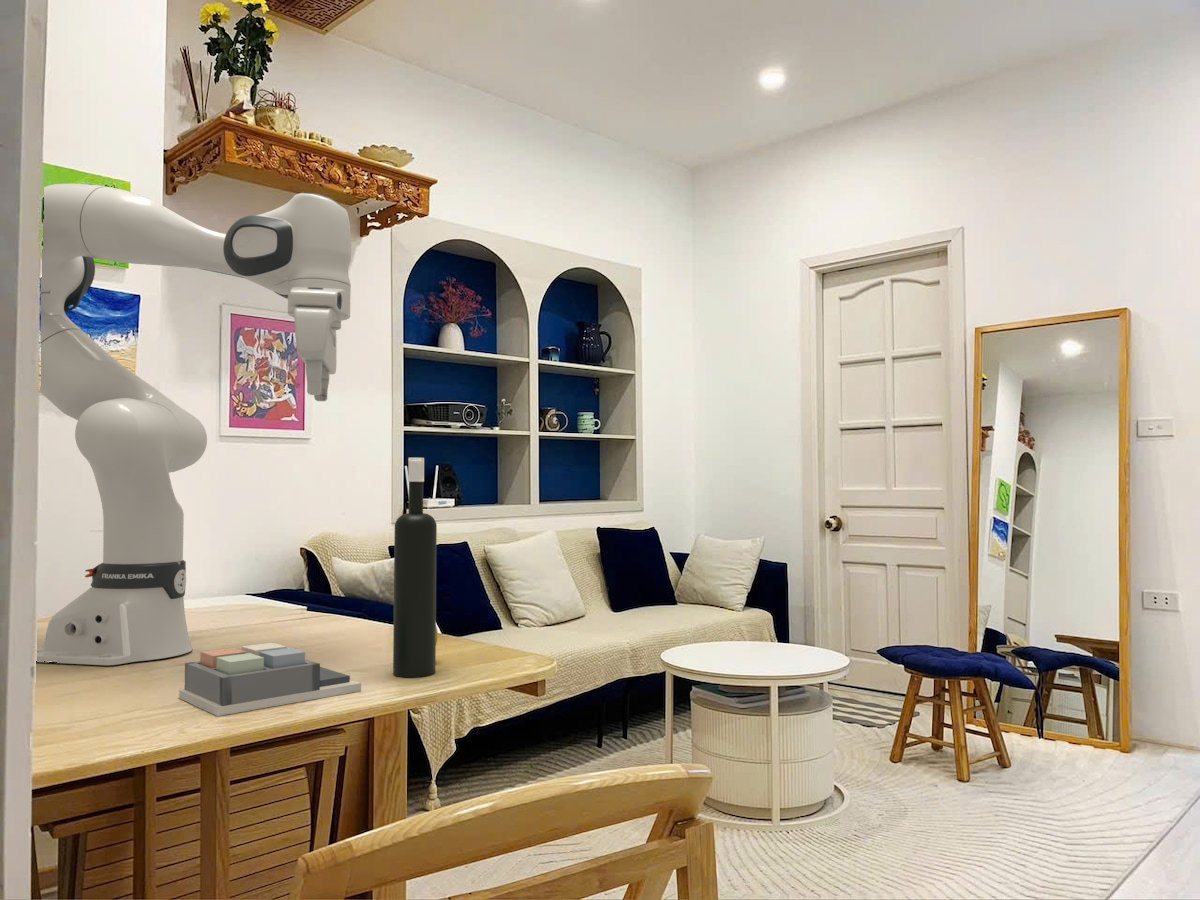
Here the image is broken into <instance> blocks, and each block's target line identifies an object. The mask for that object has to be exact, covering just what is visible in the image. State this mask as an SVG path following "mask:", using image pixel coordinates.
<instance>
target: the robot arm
mask: <svg viewBox="0 0 1200 900" xmlns="http://www.w3.org/2000/svg"><path fill="white" fill-rule="evenodd" d="M43 188H44V219H43V249H42V277H41V387H40V392H39V393H41V394H42V395H43V396H44V397H45V398H46V399H47V400H48V401H49V402H50V403H52V404H53V405H54V406H55V407H56V408H57V409H58V410H59V411H60V412H62V413H63V414H65V415H66V416H68V417H69V418H72V419H74V420H76V421H77V422H76V426H75V430H74V432H75V433H74V437H75V438H74V439H75V442H76V446H77V448H78V450H79V452H80V454H82V456H83V457H84V458H85V459H86V460H87V462H88V464H89V465H90V468H91V470H92V472H93V475H94V478H95V481H96V482H95V483H96V485H97V490H98V493H99V497H100V502H101V508H102V518H103V519H102V520H103V533H102V534H103V535H102V536H103V538H102V539H103V540H102V541H103V545H102V546H103V548H102V550H103V551H102V553H103V554H102V555H103V556H102V562H101V563H99V564H98V565H96V566H95V567H93V568H89V569H86V570H84V571H85V572H87V574H85V575H84V577H85V578H92V580H91V583H90V588H88V589H87V590H86V591H84V592H83V593H82V594H80V595H79V596H77V598H75V599H74V600H72V601H71V602H70V603H68V604H67V605H65V606H64V607H63V608H62V609H60V610H58V611H57V612H56V613H55V614H54V615H52V617H51V618H50V620H49V621H48V624H47V628H46V631H45V637H44V643H43V646H41V647H38V648H36V649H37V662H36V663H45V662H44V661H52V662H57V663H56V664H69V665H70V664H71V665H73V664H75V665H89V666H90V665H93V666H117V665H122V664H128V663H135V662H145V661H153V660H160V659H161V660H162V659H166V658H172V657H177V656H181V655H184V654H187V653H190V652H191V651H193V646H192V643H191V642H192V641H191V639H190V634H189V631H188V626H187V625H188V624H187V620H186V611H185V600H184V599H185V595H186V586H187V574H186V573H187V571H186V569H187V567H186V566H187V565H186V561H185V559H183V558H184V525H185V524H184V523H185V522H184V519H185V517H184V515H185V514H184V509H183V508H182V506H181V504H180V503H179V502H178V500H177V498H176V496H175V493H174V490H173V486H172V481H171V477H170V473H175V472H178V471H181V470H184V469H186V468H188V467H191V466H193V465H194V464H196V463H197V462H198V461H199V460H200V459H201V458H202V457H203V455H204V454H205V451H206V450H207V449H206V448H207V445H208V437H207V436H208V435H207V432H206V429H205V426H204V425H203V423H202V422H201V421H200V420H199V419H198V418H197V417H195V416H194V415H193V414H192V413H190V412H188V411H187V410H185V409H184V408H182V407H181V406H179V405H178V404H177V403H175V402H174V401H172V400H171V398H169V397H167V396H166V395H165V394H164V393H162V392H161V391H160V390H158V389H156V388H155V387H154V386H152V385H151V384H150V383H148V382H146V380H144V379H142V378H140V376H137V375H136V374H135V373H133V372H132V371H130V370H129V369H127V368H126V367H125V366H124V365H122V364H121V363H120V362H118V361H117V360H116V359H115V358H114V357H113V356H111V355H110V354H109V352H107V351H106V350H105V349H104V348H102V347H101V346H100V345H99V344H98V343H97V342H96V341H95V340H93V339H92V338H91V337H90V336H89V335H88V334H87V333H86V332H84V330H82V329H81V328H80V327H79V326H78V325H77V324H75V323H74V322H73V321H72V320H71V319H70V318H69V317H68V316H67V314H66V313H67V312H71V311H72V310H75V309H76V308H78V306H79V305H80V302H81V300H82V298H83V297H84V296H85V295H86V294H87V292H89V289H90V288H91V287H92V284H93V282H94V279H95V274H96V263H95V261H94V259H97V260H102V261H108V262H113V263H114V262H115V263H123V264H131V265H132V264H133V265H134V264H135V265H147V266H150V265H151V266H162V267H163V266H164V267H175V268H177V267H178V268H189V269H191V268H192V269H198V270H203V271H208V272H214V273H218V274H224V275H228V276H232V277H236V278H241V279H246V280H248V281H250V282H252V283H254V284H257V285H259V286H261V287H263V288H265V289H268V290H270V291H271V292H274V293H275V294H277V295H278V296H280V297H282V298H284V299H287V315H288V316H290V317H293V320H294V322H293V323H294V332H295V333H294V335H295V344H296V346H295V347H296V352H297V356H298V357H299V359H301V360H302V362H303V364H305V374H306V376H305V377H306V384H307V386H306V387H307V388H306V393H308V394H309V395H310V396H313V398H314V400H315V401H317V402H326V401H327V400H328V391H329V384H330V375H335V374H336V371H337V331H339V330H341V329H342V321H347V320H348V319H350V317H351V292H352V291H351V281H350V276H349V267H350V264H351V260H352V234H351V231H352V230H351V223H350V219H349V212H348V210H347V209H346V208H345V207H344V205H342V204H341V203H340V202H338V201H336V199H334V198H331V197H328V196H326V195H324V194H319V193H314V192H300V193H297V194H295V195H294V196H292V198H290V200H289V201H288V202H286V203H284V204H283V205H281V206H278V207H277V208H275V209H273V210H270V211H267V212H264V213H260V214H256V215H247V216H243V217H241V218H239V219H238V220H236V221H235V222H234V223H233V224H232V225H231V226H230V227H229V229H228V230H227V232H226V233H224V232H218V231H215V230H212V229H209V228H207V227H204V226H201V225H200V224H197V223H195V222H193V221H191V220H189V219H187V218H186V217H183V216H181V215H180V214H178V213H176V212H175V211H173V210H171V209H169V208H167V207H165V206H164V205H162V204H160V203H158V202H157V201H154V200H152V199H151V198H148V197H145V196H142V195H141V194H137V193H135V192H132V191H129V190H125V189H123V188H116V187H111V186H106V185H99V184H92V183H91V184H89V183H88V184H87V183H54V184H48V185H45V186H44V187H43ZM71 306H72V307H71Z"/></svg>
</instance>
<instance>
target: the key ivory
mask: <svg viewBox="0 0 1200 900" xmlns="http://www.w3.org/2000/svg"><path fill="white" fill-rule="evenodd" d="M285 648H287V646H286V645H283V644H279V643H275V642H268V643H258V644H250V645H241V650H242V651H245V652H246V653H251V654H254V655H257V656H259V652H263V651H270V650H278V649H285Z"/></svg>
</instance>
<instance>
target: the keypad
mask: <svg viewBox="0 0 1200 900" xmlns="http://www.w3.org/2000/svg"><path fill="white" fill-rule="evenodd" d="M178 692H179V693H178V699H180V700H182V701H184V702H187V703H188V704H191V705H192V706H195V707H197V708H199V709H201V710H203V711H205V712H208V713H210V714H212V715H214V716H216V717H220V716H225V715H226V716H228V715H231V714H232V715H234V714H238V713H244V712H249V711H254V710H260V709H266V708H267V709H268V708H272V707H279V706H283V705H287V704H288V705H289V704H294V703H295V704H296V703H300V702H306V701H313V700H317V699H323V698H328V697H335V696H341V695H346V694H352V693H353V694H354V693H359V692H362V682H359V681H356V680H353V679H350V675H349V674H345V673H342V672H338V671H336V670H333V669H329V668H325V667H322V666H321V663H319V662H316V661H313V660H309V659H307V658H305V664H302V665H295V666H288V667H281V668H275V669H271V668H268V667H265V666H264V670H261V671H254V672H247V673H240V674H233V675H227V674H224V673H221V672H219V671H216V668H212V669H211V668H208V667H206V666H203V665H200V660H198V661H197V660H196V661H190V662H185V663H184V688H183V689H179V690H178Z"/></svg>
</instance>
